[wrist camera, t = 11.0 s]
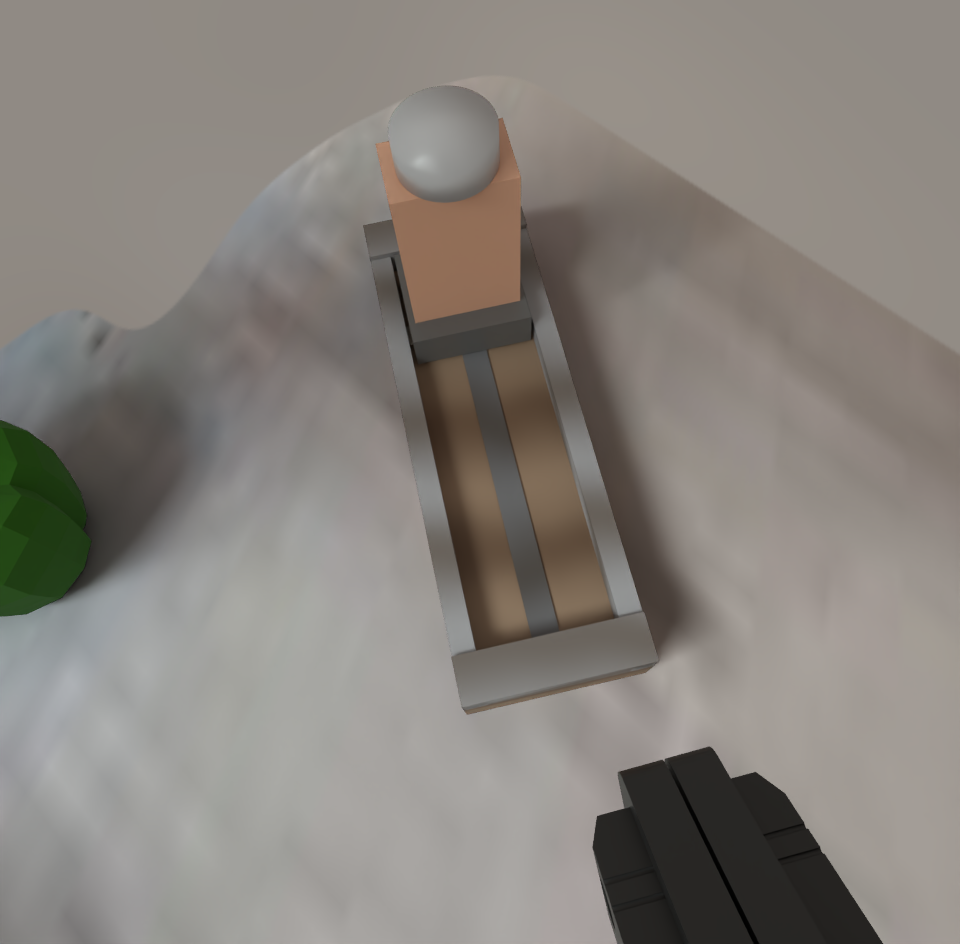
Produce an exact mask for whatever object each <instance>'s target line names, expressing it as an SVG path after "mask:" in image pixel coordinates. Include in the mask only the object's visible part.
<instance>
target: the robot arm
mask: <svg viewBox="0 0 960 944" xmlns="http://www.w3.org/2000/svg"><path fill="white" fill-rule="evenodd" d="M618 779H619V784H620V789H621V794H622V798H623V803H624V808H625V809H621V810H618V811H614V812H610V813H607V814H603V815H600V816H597V820H596V827H595V834H594V841H593V851H594V855H595V860H596V864H597V868H598V872H599V877H600V881H601V885H602V889H603V894H604V898H605V902H606V906H607V911H608V915H609V918H610V921H611V925H612V928H613V931H614V934H615V938H616V941H617V944H883V943H882V941H881V940H880V938H879V937H878V935H877V934H876V932H875V930H874V929H873V927H872V926H871V924H870V923H869V921H868V920H867V918H866V917H865V915H864V914H863V912H862V911H861V909H860V907H859V906H858V904H857V903H856V901H855V900H854V898H853V897H852V895H851V894H850V892H849V891H848V889H847V888H846V886H845V885H844V883H843V881H842V880H841V878H840V877H839V875H838V874H837V872H836V871H835V869H834V868H833V866H832V865H831V863H830V862H829V860H828V859H827V857H826V855H825V854H823V853H822V852H821V849H820V846H819V845H818V843H817V842H816V840H815V839H814V837H813V836H812V834H811V832H810V831H809V829H806V827H805V824H804V822H803V820H802V819H801V817H800V816H799V814H798V813H797V811H796V810H795V808H794V806H793V805H792V803H791V802H790V800H789V799H788V797H787V796H786V794H785V793H784V792H782V791H781V790H780V789H778V788H777V787H775V786H774V785H773V784H771V783H770V782H769V781H767V780H766V779H765V778H763V777H762V776H760V775H759V774H758V773H756V772H754V773H750V774H746V775H743V776H739V777H735V778H732V779H731V778H730V777H729V775H728V773H727V771H726V770H725V768H724V766H723V764H722V763H721V761H720V759H719V758H718V756H717V754H716V753H715V751H714V750H713V749H712V748H711V747H706V748H702V749H699V750H695V751H691V752H688V753H684V754H681V755H677V756H673V757H670V758H666V759H665V762H664V761H663V760H660V761H656V762H653V763H649V764H645V765H642V766H638V767H634V768H631V769H627V770H624V771H620V772H618Z"/></svg>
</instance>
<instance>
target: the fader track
mask: <svg viewBox="0 0 960 944" xmlns="http://www.w3.org/2000/svg"><path fill="white" fill-rule="evenodd" d="M363 227H364V232H365V237H366V242H367V247H368V251H369V256H370V260H371V265H372V270H373V274H374V279H375V284H376V289H377V294H378V299H379V304H380V309H381V314H382V318H383V323H384V328H385V333H386V338H387V343H388V348H389V353H390V358H391V362H392V367H393V372H394V377H395V382H396V387H397V392H398V397H399V402H400V406H401V411H402V416H403V421H404V426H405V431H406V436H407V441H408V446H409V450H410V455H411V460H412V465H413V470H414V475H415V480H416V485H417V490H418V494H419V499H420V504H421V509H422V514H423V519H424V524H425V529H426V533H427V538H428V543H429V548H430V553H431V558H432V563H433V568H434V573H435V577H436V582H437V587H438V592H439V597H440V602H441V607H442V612H443V617H444V621H445V626H446V631H447V636H448V641H449V646H450V651H451V656H452V662H453V667H454V672H455V677H456V682H457V687H458V692H459V697H460V701H461V706H462V708H463V710H464V711H465V712H466V714H472V713H476V712H480V711H484V710H489V709H493V708H497V707H501V706H506V705H510V704H514V703H518V702H523V701H527V700H531V699H535V698H540V697H544V696H548V695H552V694H557V693H561V692H565V691H569V690H574V689H578V688H582V687H586V686H591V685H595V684H599V683H603V682H608V681H612V680H616V679H621V678H625V677H629V676H633V675H638V674H642V673H646V672H647V671H648V670H649V669H650V668H651V667H653V666H654V665H655V664H656V663H657V662H658V661H659V659H658V656H657V652H656V649H655V646H654V642H653V639H652V636H651V632H650V629H649V626H648V623H647V619H646V616H645V613H644V612H643V611H642V608H641V605H640V601H639V598H638V595H637V591H636V588H635V585H634V582H633V578H632V575H631V572H630V568H629V565H628V562H627V558H626V555H625V552H624V548H623V545H622V542H621V539H620V535H619V532H618V529H617V525H616V522H615V519H614V515H613V512H612V509H611V506H610V502H609V499H608V496H607V492H606V489H605V486H604V482H603V479H602V476H601V473H600V469H599V466H598V463H597V459H596V456H595V453H594V449H593V446H592V443H591V439H590V436H589V433H588V430H587V426H586V423H585V420H584V416H583V413H582V410H581V406H580V403H579V400H578V397H577V393H576V390H575V387H574V383H573V380H572V377H571V373H570V370H569V367H568V364H567V360H566V357H565V354H564V350H563V347H562V344H561V340H560V337H559V334H558V330H557V327H556V324H555V321H554V317H553V314H552V311H551V307H550V304H549V301H548V297H547V294H546V291H545V288H544V284H543V281H542V278H541V274H540V271H539V268H538V264H537V261H536V258H535V255H534V251H533V248H532V245H531V241H530V238H529V235H528V231H527V224H526V221H525V217H524V214H523V211H522V207H521V233H520V279H521V282H522V286H523V289H524V293H525V296H526V300H527V303H528V306H529V310H530V313H531V317H532V320H531V340H528V341H524V342H519V343H514V344H510V345H505V346H501V347H496V348H491V349H487V350H482V351H478V352H473V353H468V354H464V355H459V356H454V357H450V358H445V359H441V360H436V361H431V362H427V363H422V364H418V361H417V357H416V353H415V349H414V345H413V340H412V336H411V331H410V327H409V322H408V317H407V313H406V308H405V304H404V299H403V295H402V290H401V285H400V281H399V276H398V272H397V267H396V263H395V258H394V255H399V254H400V252H399V247H398V243H397V238H396V234H395V229H394V225H393V220H387V221H382V222H378V223H373V224H368V225H363Z"/></svg>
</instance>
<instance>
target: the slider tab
mask: <svg viewBox="0 0 960 944" xmlns="http://www.w3.org/2000/svg"><path fill="white" fill-rule="evenodd" d="M388 137H389V141H387V142H382V143H378V144H376V148H377V153H378V157H379V162H380V166H381V171H382V175H383V180H384V184H385V189H386V193H387V198H388V202H389V207H390V211H391V216H392V220H393V225H394V229H395V234H396V238H397V243H398V247H399V252H400V254H399V255H394V258H395V263H396V267H397V272H398V276H399V281H400V285H401V290H402V295H403V299H404V304H405V308H406V313H407V317H408V322H409V327H410V331H411V336H412V340H413V345H414V349H415V353H416V357H417V361H418V364H422V363H427V362H431V361H436V360H441V359H445V358H450V357H454V356H459V355H464V354H468V353H473V352H478V351H482V350H487V349H491V348H496V347H501V346H505V345H510V344H514V343H519V342H524V341H528V340H531V320H532V317H531V313H530V310H529V306H528V303H527V300H526V296H525V293H524V289H523V286H522V282H521V279H520V233H521V176H520V173H519V170H518V167H517V163H516V160H515V157H514V154H513V150H512V147H511V144H510V141H509V137H508V134H507V131H506V128H505V125H504V121H503V118H500V119H498V116H497V113H496V111H495V109H494V108H493V106H492V105H491V104H490V102H489V101H488V100H486V99H485V98H484V97H483V96H481V95H480V94H478V93H476V92H474V91H472V90H469V89H466V88H462V87H457V86H437V87H431V88H427V89H424V90H421V91H419V92H416V93H415V94H412V95H411V96H409V97H408V98H406V99H405V100H404V101H403V102H401V103H400V105H399V106H398V107H397V108H396V109H395V111H394V112H393V114H392V116H391V118H390V121H389V125H388Z"/></svg>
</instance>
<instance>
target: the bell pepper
mask: <svg viewBox="0 0 960 944" xmlns="http://www.w3.org/2000/svg"><path fill="white" fill-rule="evenodd" d="M86 518H87V514H86V510H85V507H84V503H83V499H82V496H81V492H80V490H79V488H78V487H77V485H76V483H75V482H74V480H73V478H72V476H71V475H70V473H69V472H68V470H67V469H66V468H65V466H64V465H63V463H62V462H61V461H60V459H59V458H58V456H57V455H56V454H55V452H54V451H53V450H52V449H51V448H49V447H48V446H47V445H45V444H44V443H43V442H41V441H40V440H39V439H37V438H36V437H35V436H34V435H32V434H31V433H30V432H28V431H26V430H24V429H21V428H19V427H16V426H14V425H12V424H9V423H7V422H4V421H2V420H0V616H13V615H23V614H28V613H30V612H32V611H34V610H36V609H39V608H41V607H43V606H45V605H47V604H49V603H51V602H53V601H56V600H58V599H60V598H62V597H63V596H64V594H65V593H66V592H67V590H68V589H69V588H70V586H71V585H72V584H73V583H74V581H75V580H76V579H77V577H78V576H79V575H80V573H81V572H82V571H83V570H84V568H85V564H86V560H87V556H88V552H89V548H90V545H91V540H90V538H89V537H88V536H87V534H86V533H85V532H84V531H83V528H84V526H85V524H86Z"/></svg>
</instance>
